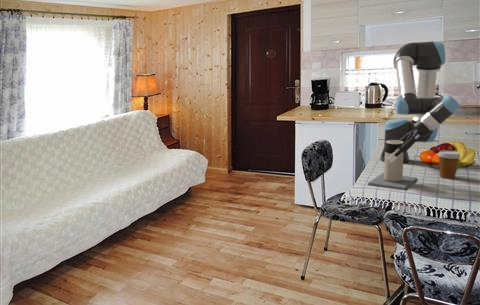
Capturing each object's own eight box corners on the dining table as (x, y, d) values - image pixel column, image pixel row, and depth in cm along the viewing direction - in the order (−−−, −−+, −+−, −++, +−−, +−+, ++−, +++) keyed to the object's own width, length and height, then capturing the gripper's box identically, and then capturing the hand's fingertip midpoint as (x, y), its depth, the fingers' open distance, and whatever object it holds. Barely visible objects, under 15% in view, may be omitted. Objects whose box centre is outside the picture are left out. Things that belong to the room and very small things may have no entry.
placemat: (382, 175, 206) (382, 173, 206) (416, 179, 197) (416, 177, 197) (367, 184, 190) (368, 182, 190) (404, 190, 181) (404, 187, 181)
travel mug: (404, 182, 190) (406, 143, 186) (387, 182, 190) (388, 143, 186) (398, 177, 197) (400, 139, 194) (381, 177, 198) (383, 140, 194)
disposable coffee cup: (445, 180, 194) (447, 155, 192) (432, 175, 203) (433, 151, 201) (463, 178, 196) (465, 153, 194) (449, 173, 205) (451, 149, 203)
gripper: (436, 135, 173) (396, 169, 180) (428, 127, 196) (392, 157, 203) (423, 122, 173) (383, 157, 180) (416, 115, 197) (381, 146, 204)
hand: (388, 157), depth 192 cm, fingers open, 13 cm apart
